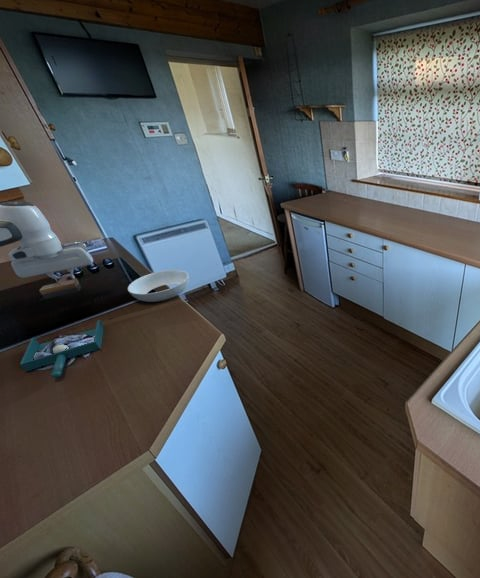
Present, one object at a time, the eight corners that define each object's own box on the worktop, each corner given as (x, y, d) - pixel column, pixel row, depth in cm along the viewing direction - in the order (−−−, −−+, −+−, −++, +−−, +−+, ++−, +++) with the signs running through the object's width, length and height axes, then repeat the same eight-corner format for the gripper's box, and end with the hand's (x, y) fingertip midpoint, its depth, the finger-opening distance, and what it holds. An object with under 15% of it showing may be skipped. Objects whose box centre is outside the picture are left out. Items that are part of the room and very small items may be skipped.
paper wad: (49, 346, 91) (59, 352, 94) (48, 353, 89) (58, 360, 92) (63, 340, 93) (73, 346, 95) (63, 347, 91) (72, 354, 93)
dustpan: (38, 345, 97) (31, 337, 95) (104, 327, 106) (99, 319, 104) (17, 395, 80) (9, 386, 78) (97, 368, 89) (91, 360, 87)
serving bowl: (190, 302, 120) (184, 287, 116) (128, 313, 113) (120, 298, 109) (196, 279, 136) (191, 265, 133) (142, 287, 129) (135, 274, 126)
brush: (78, 291, 107) (73, 283, 105) (44, 299, 102) (38, 290, 101) (86, 279, 118) (81, 271, 116) (55, 285, 114) (50, 277, 112)
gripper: (83, 238, 112) (102, 269, 120) (6, 250, 102) (31, 284, 109) (81, 243, 108) (100, 275, 115) (0, 257, 98) (27, 291, 105)
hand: (66, 280), depth 112 cm, fingers closed on brush, 2 cm apart
